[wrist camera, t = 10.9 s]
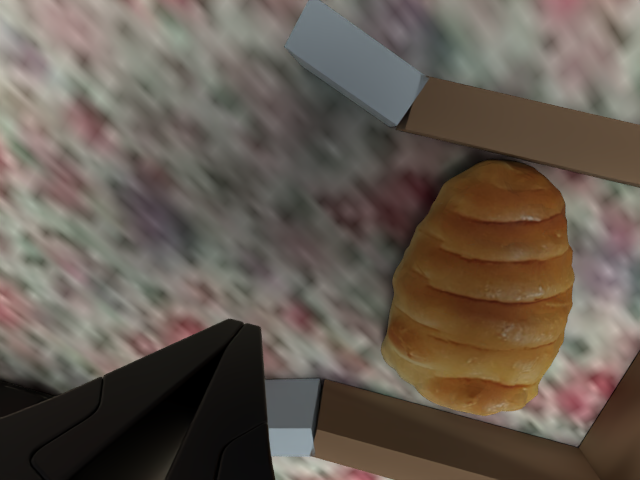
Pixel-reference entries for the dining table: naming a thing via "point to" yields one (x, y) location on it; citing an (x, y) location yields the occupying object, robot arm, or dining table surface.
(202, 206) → the dining table surface
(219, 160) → the dining table surface
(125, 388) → the robot arm
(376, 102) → the holder
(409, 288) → the pastry
